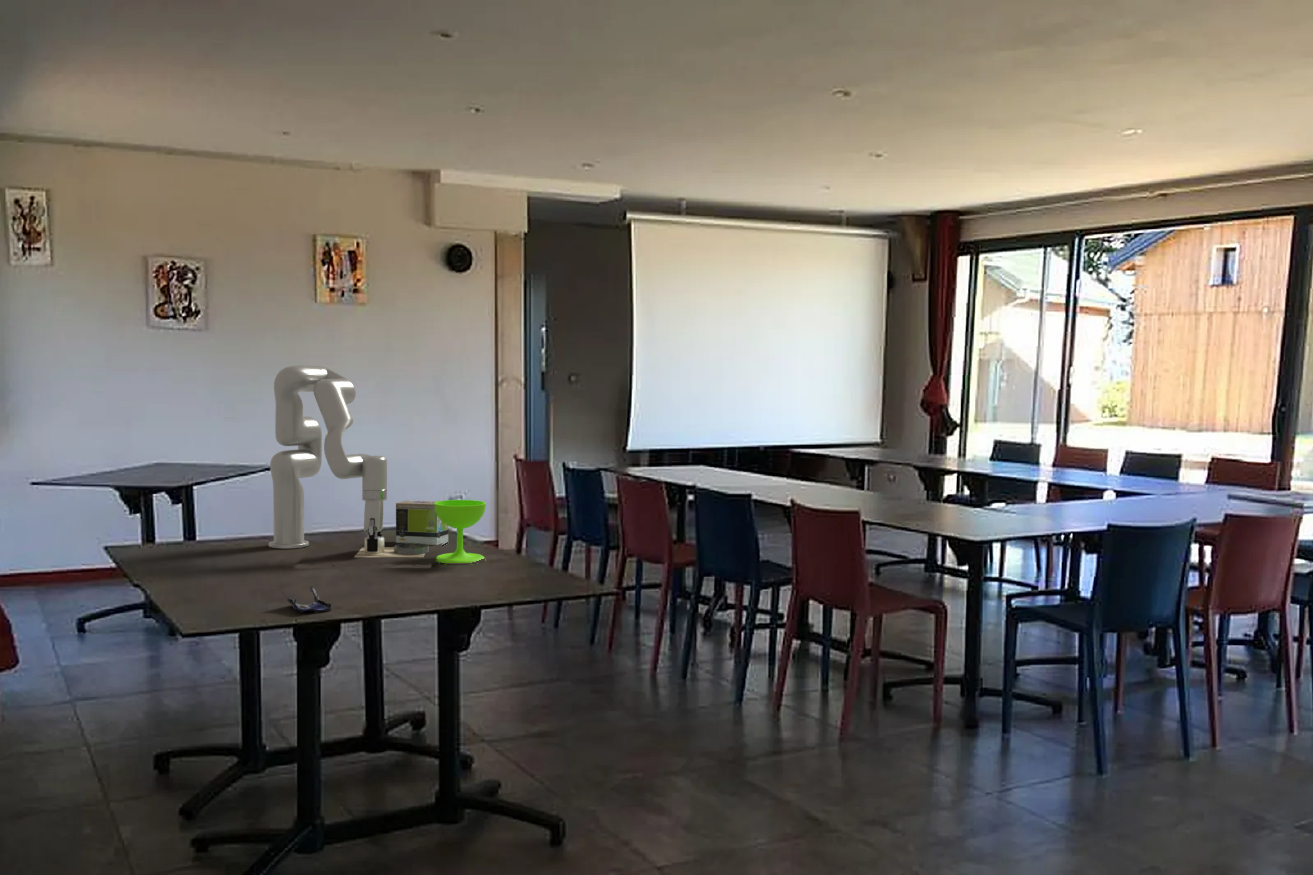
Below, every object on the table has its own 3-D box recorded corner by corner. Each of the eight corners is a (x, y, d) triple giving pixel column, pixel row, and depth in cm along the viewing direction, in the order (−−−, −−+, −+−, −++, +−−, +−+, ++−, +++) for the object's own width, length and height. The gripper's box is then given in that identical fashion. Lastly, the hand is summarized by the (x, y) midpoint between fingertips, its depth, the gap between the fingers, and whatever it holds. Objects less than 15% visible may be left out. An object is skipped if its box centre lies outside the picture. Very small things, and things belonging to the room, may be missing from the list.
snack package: (330, 604, 276) (281, 605, 272) (331, 581, 275) (282, 581, 271) (331, 623, 265) (280, 624, 261) (332, 598, 264) (281, 599, 260)
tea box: (449, 544, 370) (449, 500, 369) (436, 548, 360) (436, 504, 359) (408, 541, 373) (408, 498, 372) (394, 546, 364) (395, 502, 363)
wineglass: (473, 554, 351) (474, 498, 350) (493, 562, 337) (494, 504, 336) (425, 558, 342) (426, 501, 341) (444, 566, 329) (445, 507, 328)
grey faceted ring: (396, 549, 350) (396, 543, 350) (429, 549, 352) (429, 543, 351) (392, 554, 340) (392, 548, 340) (427, 554, 341) (427, 548, 341)
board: (362, 551, 353) (362, 547, 353) (428, 551, 355) (428, 547, 355) (353, 561, 335) (353, 557, 335) (423, 560, 337) (423, 557, 337)
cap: (366, 550, 347) (366, 536, 347) (385, 550, 348) (385, 536, 347) (363, 553, 341) (363, 539, 341) (383, 553, 342) (383, 539, 341)
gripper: (366, 491, 351) (366, 544, 352) (358, 498, 334) (358, 553, 335) (390, 492, 352) (389, 544, 353) (383, 498, 335) (383, 553, 336)
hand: (374, 548), depth 344 cm, fingers open, 9 cm apart
